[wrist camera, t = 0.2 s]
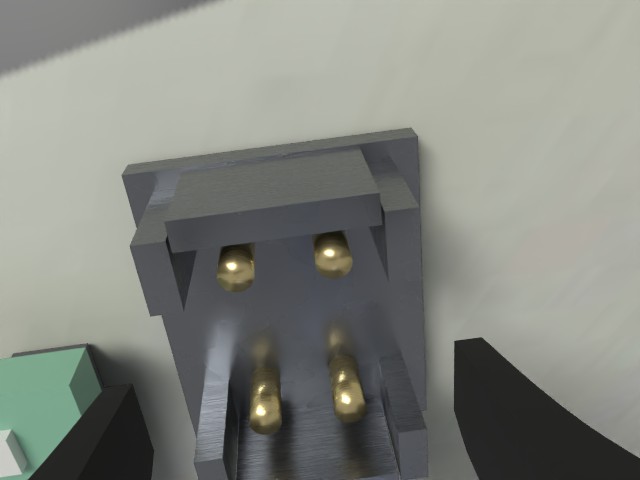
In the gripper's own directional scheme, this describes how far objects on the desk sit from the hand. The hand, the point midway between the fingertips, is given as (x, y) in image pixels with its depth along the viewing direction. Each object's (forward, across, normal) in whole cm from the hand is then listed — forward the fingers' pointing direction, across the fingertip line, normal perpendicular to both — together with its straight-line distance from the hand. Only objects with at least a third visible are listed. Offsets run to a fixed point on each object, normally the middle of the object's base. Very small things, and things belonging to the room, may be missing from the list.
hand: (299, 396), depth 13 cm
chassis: (+10, 0, +4) cm, 10 cm away
